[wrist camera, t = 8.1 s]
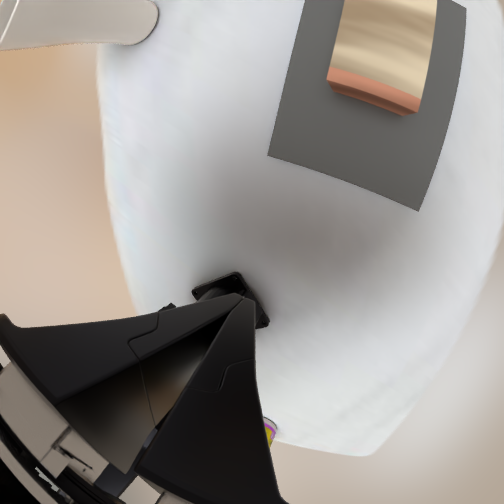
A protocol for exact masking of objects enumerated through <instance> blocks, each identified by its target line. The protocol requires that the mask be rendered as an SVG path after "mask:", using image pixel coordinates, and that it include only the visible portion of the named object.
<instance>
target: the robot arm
mask: <svg viewBox="0 0 504 504" xmlns="http://www.w3.org/2000/svg"><path fill="white" fill-rule="evenodd" d="M234 277H236V278H237V279H235V278H234ZM196 292H197V293H196ZM192 294H193V296H194V297H195V299H196V300H197V302H196V303H193V304H189V305H185V306H181V307H177V308H176V306H175V305H174V304H172V303H170V304H169V305H168V306H167V307H163V308H162V309H160V310H159V311H158V312H155V313H151V314H146V315H141V316H136V317H130V318H123V319H116V320H107V321H98V322H89V323H79V324H68V325H58V326H44V327H31V328H21V327H17V326H15V325H14V324H13V323H12V322H11V321H10V319H9V318H8V317H7V316H6V315H5V314H0V345H1V347H2V348H3V350H4V352H5V353H6V354H7V356H8V358H9V359H10V360H11V362H10V363H9V364H7V366H6V367H4V368H3V366H2V365H1V363H0V504H126V503H125V502H124V501H122V500H120V499H119V496H120V495H121V494H122V493H123V492H124V491H125V490H126V488H127V487H128V486H129V485H130V484H131V483H132V482H133V480H134V479H135V478H136V477H137V476H140V477H141V478H142V479H143V480H144V481H145V482H146V483H148V484H149V485H150V486H151V487H152V488H153V489H155V490H156V491H157V492H158V493H159V494H161V495H160V497H159V498H158V500H157V501H156V503H155V504H289V503H288V502H286V501H285V500H284V499H283V498H282V497H281V495H280V493H279V489H278V485H277V480H276V476H275V472H274V467H273V462H272V457H271V453H270V448H269V443H268V438H267V434H266V429H265V424H264V419H263V414H262V409H261V404H260V399H259V394H258V388H257V381H256V360H255V329H260V328H264V327H267V326H268V325H269V322H270V321H269V319H268V318H267V316H266V314H265V313H264V311H263V309H262V308H261V306H260V305H259V303H258V302H257V300H256V298H255V297H254V295H253V294H252V292H251V291H250V289H249V288H248V286H247V285H246V283H245V282H244V280H243V278H242V277H241V275H240V274H239V273H237V272H233V273H231V274H228V275H226V276H223V277H221V278H218V279H216V280H213V281H211V282H208V283H205V284H203V285H200V286H198V287H195V288H194V289H193V290H192ZM263 321H264V322H265V323H264V322H263ZM36 467H38V468H39V470H40V471H41V472H43V474H44V475H45V476H47V478H48V479H50V480H51V481H52V482H53V483H54V484H55V485H56V486H57V487H58V488H59V490H58V491H57V492H56V491H54V490H53V489H52V488H51V487H52V485H51V484H50V483H49V482H47V481H46V480H44V479H42V478H41V477H40V476H39V472H38V471H37V470H36V469H35V468H36Z"/></svg>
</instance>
